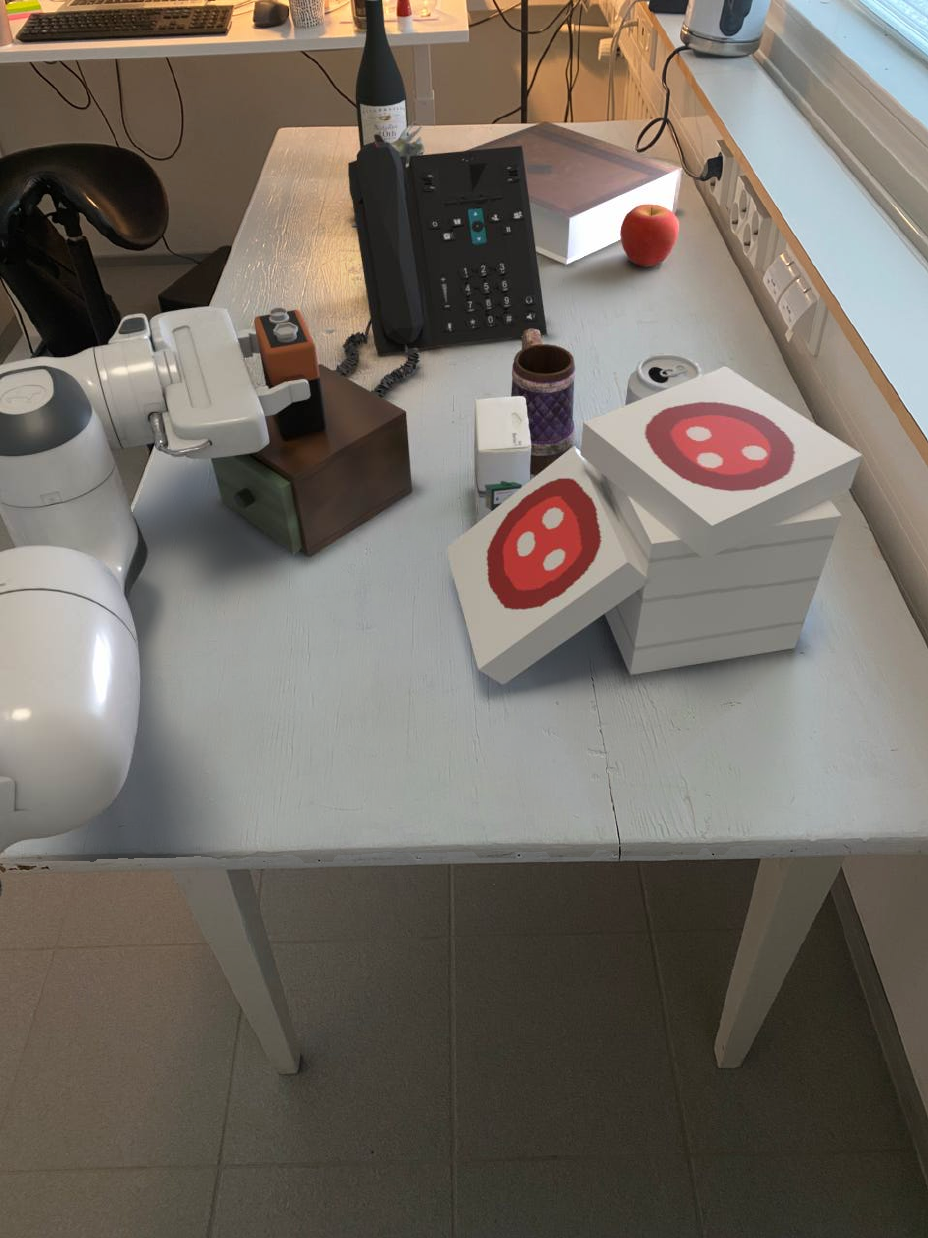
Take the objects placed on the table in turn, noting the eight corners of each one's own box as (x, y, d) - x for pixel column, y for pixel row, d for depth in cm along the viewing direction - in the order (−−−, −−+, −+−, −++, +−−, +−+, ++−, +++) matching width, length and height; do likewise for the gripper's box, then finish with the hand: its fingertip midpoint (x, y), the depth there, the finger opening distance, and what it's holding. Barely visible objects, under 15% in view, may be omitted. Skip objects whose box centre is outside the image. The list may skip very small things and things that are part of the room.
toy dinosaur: (361, 254, 134) (353, 173, 126) (311, 243, 137) (300, 164, 129) (430, 196, 148) (427, 120, 140) (384, 188, 150) (378, 113, 142)
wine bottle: (413, 179, 153) (401, -41, 131) (365, 184, 152) (345, -37, 130) (406, 161, 158) (393, -53, 137) (360, 165, 157) (339, -50, 136)
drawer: (283, 560, 88) (269, 494, 82) (212, 507, 94) (194, 442, 88) (390, 492, 95) (384, 427, 89) (317, 447, 100) (307, 383, 95)
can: (610, 450, 100) (622, 350, 92) (678, 444, 101) (696, 345, 92) (626, 493, 95) (640, 392, 87) (698, 487, 96) (719, 386, 87)
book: (543, 162, 156) (545, 121, 152) (676, 212, 142) (682, 167, 137) (434, 206, 145) (433, 162, 141) (566, 264, 131) (569, 217, 126)
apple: (681, 271, 129) (689, 215, 123) (625, 276, 128) (631, 219, 122) (665, 247, 134) (672, 191, 128) (611, 251, 133) (616, 196, 128)
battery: (282, 441, 86) (264, 342, 79) (268, 402, 90) (250, 305, 83) (328, 431, 87) (314, 333, 80) (312, 393, 91) (298, 297, 84)
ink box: (473, 493, 96) (472, 394, 87) (522, 491, 96) (525, 392, 87) (477, 549, 90) (476, 448, 81) (529, 547, 90) (533, 446, 81)
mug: (578, 472, 98) (587, 371, 89) (512, 478, 97) (514, 377, 89) (559, 417, 105) (565, 318, 96) (497, 423, 104) (497, 324, 96)
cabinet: (309, 558, 90) (293, 476, 82) (230, 500, 96) (209, 420, 89) (412, 491, 96) (406, 411, 89) (332, 442, 103) (320, 363, 95)
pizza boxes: (444, 565, 89) (435, 402, 75) (742, 521, 92) (783, 358, 79) (485, 723, 75) (483, 558, 62) (831, 664, 79) (898, 497, 66)
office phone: (324, 416, 106) (298, 242, 91) (302, 299, 125) (278, 140, 111) (572, 383, 110) (585, 211, 95) (514, 274, 129) (517, 117, 114)
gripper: (146, 425, 73) (319, 391, 76) (123, 306, 86) (271, 281, 89) (166, 489, 77) (329, 455, 80) (141, 366, 91) (281, 341, 94)
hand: (298, 362), depth 85 cm, fingers closed on battery, 7 cm apart
